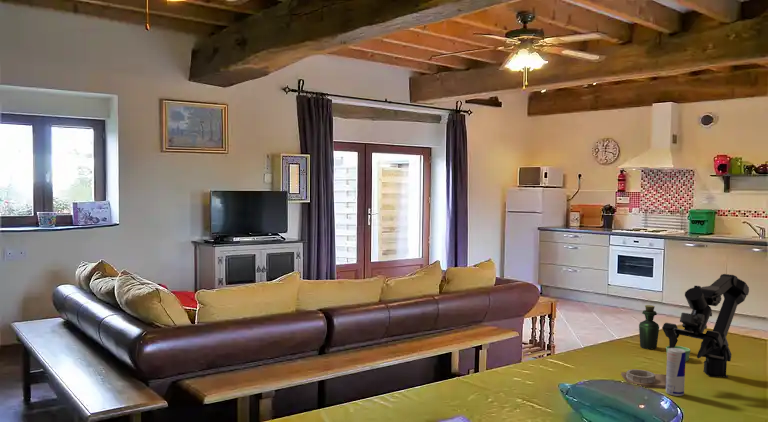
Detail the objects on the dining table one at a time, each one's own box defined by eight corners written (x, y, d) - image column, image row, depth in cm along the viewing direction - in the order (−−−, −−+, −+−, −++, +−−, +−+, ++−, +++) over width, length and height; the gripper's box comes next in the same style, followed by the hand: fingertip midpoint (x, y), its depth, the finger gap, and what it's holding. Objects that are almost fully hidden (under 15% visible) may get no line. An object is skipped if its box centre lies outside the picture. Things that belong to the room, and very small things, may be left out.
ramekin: (694, 362, 249) (694, 351, 249) (671, 362, 249) (671, 351, 249) (683, 356, 258) (684, 345, 258) (661, 355, 258) (662, 345, 258)
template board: (666, 377, 229) (667, 369, 229) (678, 389, 216) (679, 380, 216) (621, 374, 231) (621, 366, 231) (630, 386, 218) (630, 377, 218)
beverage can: (681, 398, 207) (683, 352, 206) (663, 394, 210) (665, 349, 210) (685, 393, 212) (687, 349, 211) (667, 390, 215) (669, 346, 214)
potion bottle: (646, 350, 265) (648, 308, 264) (633, 345, 273) (635, 304, 272) (662, 349, 267) (664, 307, 267) (649, 344, 275) (651, 303, 274)
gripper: (665, 299, 224) (649, 335, 217) (721, 308, 210) (706, 346, 203) (674, 319, 229) (659, 354, 223) (729, 328, 215) (715, 366, 209)
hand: (683, 354), depth 214 cm, fingers open, 9 cm apart
